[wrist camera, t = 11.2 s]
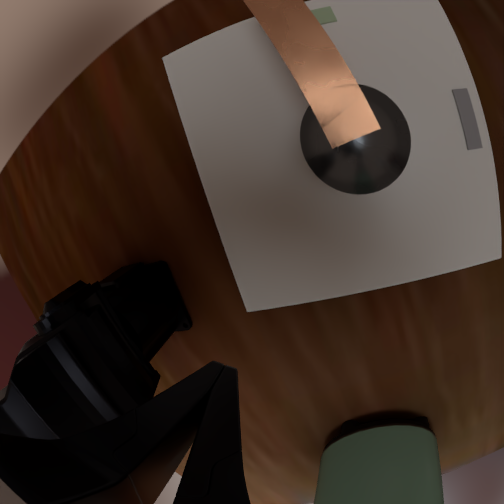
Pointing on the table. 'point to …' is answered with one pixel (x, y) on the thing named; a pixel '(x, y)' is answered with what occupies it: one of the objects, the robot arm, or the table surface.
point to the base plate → (315, 190)
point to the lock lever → (336, 105)
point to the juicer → (381, 464)
